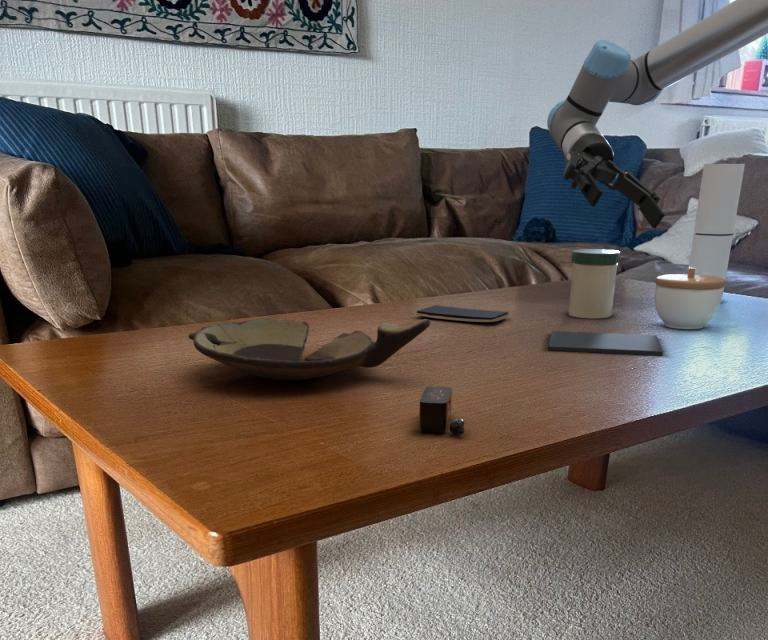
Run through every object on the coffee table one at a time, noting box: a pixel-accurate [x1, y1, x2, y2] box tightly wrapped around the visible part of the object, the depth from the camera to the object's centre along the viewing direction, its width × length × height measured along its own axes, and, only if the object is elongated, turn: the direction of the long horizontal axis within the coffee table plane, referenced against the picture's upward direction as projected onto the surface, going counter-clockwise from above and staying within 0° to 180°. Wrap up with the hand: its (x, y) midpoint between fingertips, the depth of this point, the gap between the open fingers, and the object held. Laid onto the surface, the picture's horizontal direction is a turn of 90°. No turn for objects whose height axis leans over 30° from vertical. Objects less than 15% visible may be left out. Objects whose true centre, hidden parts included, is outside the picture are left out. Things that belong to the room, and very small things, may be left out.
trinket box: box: [654, 267, 726, 330], centre depth 129 cm, size 11×11×9 cm
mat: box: [547, 330, 664, 356], centre depth 118 cm, size 16×12×1 cm
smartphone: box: [416, 304, 510, 323], centre depth 138 cm, size 7×1×15 cm
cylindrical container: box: [687, 163, 746, 303], centre depth 151 cm, size 7×7×25 cm
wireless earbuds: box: [418, 385, 465, 435], centre depth 80 cm, size 5×7×3 cm, turn 170°
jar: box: [568, 262, 618, 320], centre depth 139 cm, size 8×8×10 cm
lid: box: [571, 248, 621, 265], centre depth 137 cm, size 8×8×2 cm
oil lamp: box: [188, 318, 431, 382], centre depth 99 cm, size 22×30×8 cm
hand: (628, 210), depth 135 cm, fingers open, 13 cm apart
